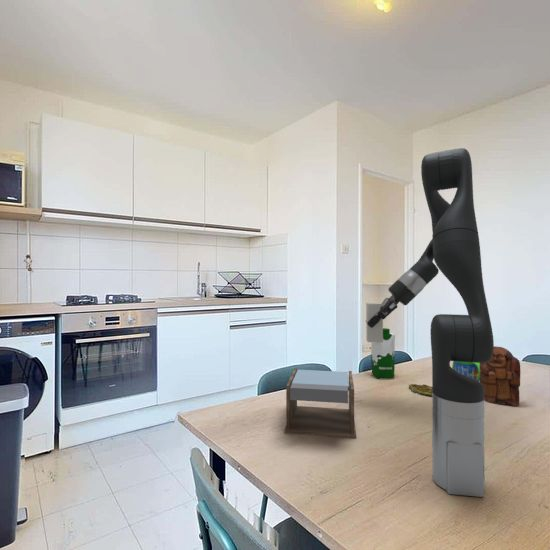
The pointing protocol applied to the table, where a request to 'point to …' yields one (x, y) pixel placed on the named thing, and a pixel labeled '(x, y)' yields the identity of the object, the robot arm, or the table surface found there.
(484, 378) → the wooden figurine
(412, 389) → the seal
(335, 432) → the trapdoor stand
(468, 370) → the green blue printed box
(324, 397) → the trapdoor
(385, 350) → the milk carton
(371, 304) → the grey stone pillar
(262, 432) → the table surface
